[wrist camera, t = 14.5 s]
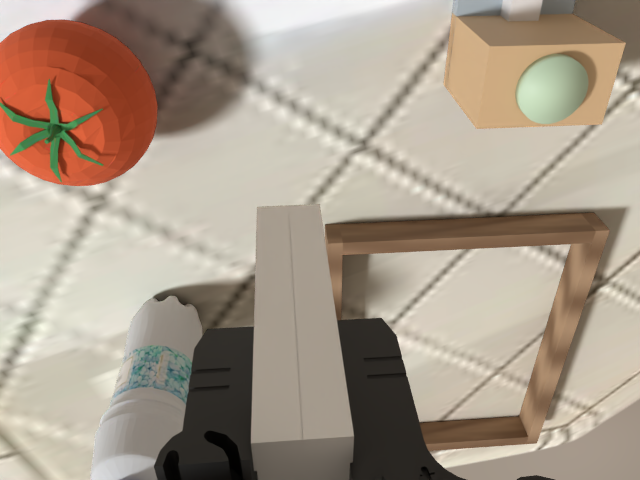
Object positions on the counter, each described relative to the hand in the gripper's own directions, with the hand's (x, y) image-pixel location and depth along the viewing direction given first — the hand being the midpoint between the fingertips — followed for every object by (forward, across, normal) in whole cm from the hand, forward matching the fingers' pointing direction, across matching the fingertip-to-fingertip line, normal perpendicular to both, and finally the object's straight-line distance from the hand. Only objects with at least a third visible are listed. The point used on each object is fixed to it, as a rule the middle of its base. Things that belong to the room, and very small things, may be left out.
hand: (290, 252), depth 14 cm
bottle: (+29, -11, -27) cm, 41 cm away
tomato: (+29, -13, -5) cm, 32 cm away
